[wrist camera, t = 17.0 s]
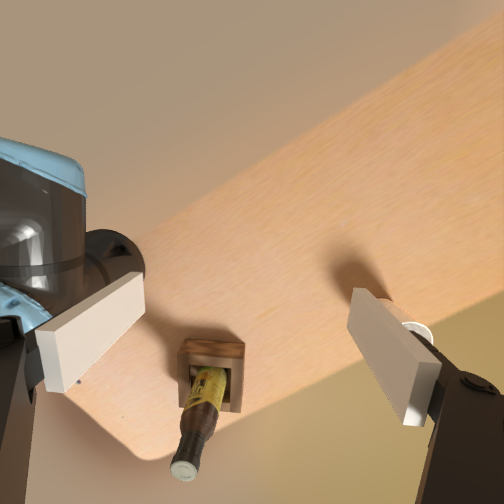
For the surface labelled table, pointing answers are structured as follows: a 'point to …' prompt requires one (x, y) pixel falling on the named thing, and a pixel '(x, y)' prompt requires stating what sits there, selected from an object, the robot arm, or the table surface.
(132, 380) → the table surface
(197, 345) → the crate
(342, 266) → the table surface
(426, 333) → the white cup
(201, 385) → the sauce bottle
